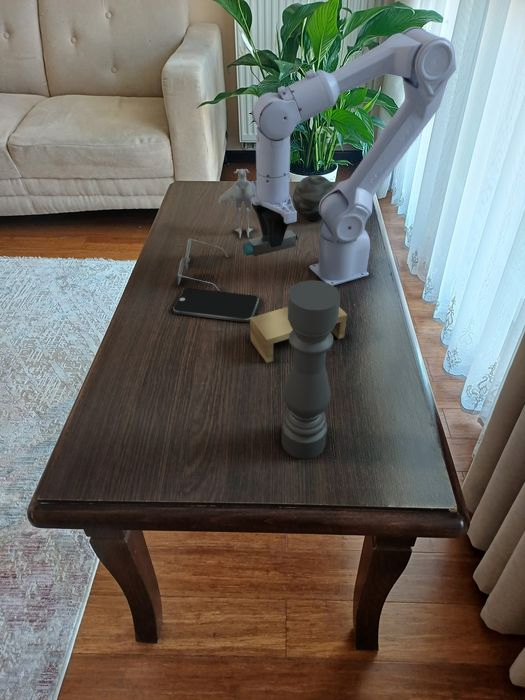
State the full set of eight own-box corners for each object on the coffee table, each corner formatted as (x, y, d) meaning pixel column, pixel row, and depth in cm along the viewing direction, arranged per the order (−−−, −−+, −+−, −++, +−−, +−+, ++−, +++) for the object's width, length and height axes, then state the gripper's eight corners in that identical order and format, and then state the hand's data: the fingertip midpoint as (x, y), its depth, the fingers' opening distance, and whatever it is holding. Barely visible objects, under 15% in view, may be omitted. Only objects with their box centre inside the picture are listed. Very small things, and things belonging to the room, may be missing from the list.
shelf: (325, 317, 95) (327, 294, 92) (344, 337, 90) (347, 314, 87) (250, 340, 90) (249, 317, 87) (266, 363, 86) (266, 339, 82)
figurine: (268, 229, 120) (268, 164, 110) (269, 237, 117) (269, 172, 107) (219, 230, 120) (215, 166, 110) (219, 239, 117) (214, 173, 107)
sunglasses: (189, 254, 112) (190, 233, 109) (227, 261, 112) (230, 240, 109) (176, 291, 101) (177, 269, 98) (218, 298, 102) (221, 277, 98)
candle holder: (279, 425, 76) (282, 280, 59) (321, 422, 76) (336, 277, 59) (284, 460, 71) (289, 313, 54) (329, 457, 71) (348, 310, 55)
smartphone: (184, 287, 101) (259, 295, 99) (184, 290, 101) (260, 298, 99) (170, 310, 95) (250, 320, 93) (171, 313, 96) (250, 323, 93)
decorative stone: (331, 207, 128) (335, 167, 121) (336, 227, 120) (340, 185, 114) (290, 208, 128) (292, 168, 121) (293, 227, 120) (294, 186, 114)
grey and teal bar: (293, 239, 102) (294, 228, 100) (299, 245, 100) (300, 234, 98) (242, 252, 98) (242, 240, 97) (247, 258, 97) (247, 246, 95)
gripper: (235, 160, 93) (237, 229, 102) (270, 191, 83) (269, 265, 92) (270, 154, 95) (270, 222, 104) (309, 183, 85) (305, 256, 94)
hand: (272, 241), depth 98 cm, fingers closed on grey and teal bar, 2 cm apart
